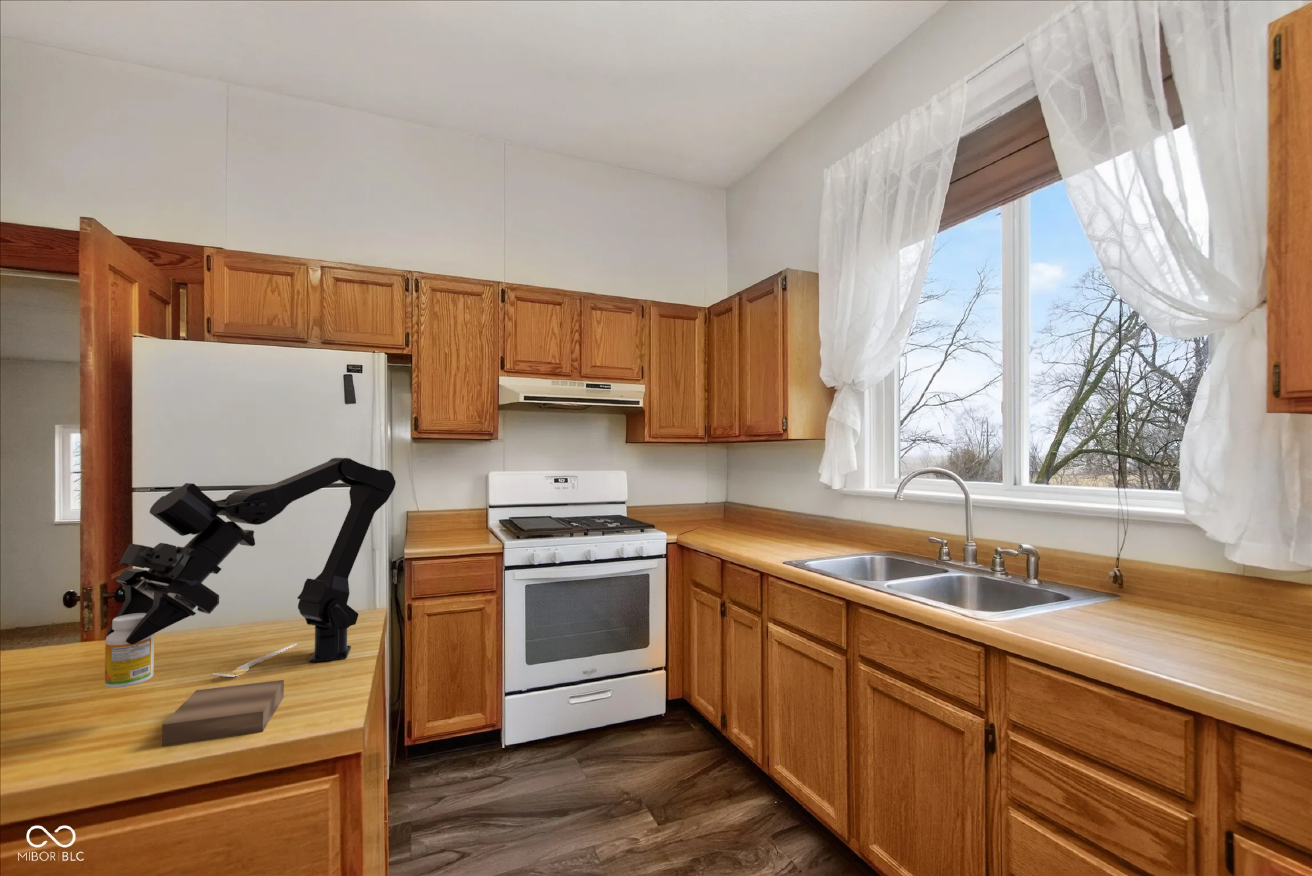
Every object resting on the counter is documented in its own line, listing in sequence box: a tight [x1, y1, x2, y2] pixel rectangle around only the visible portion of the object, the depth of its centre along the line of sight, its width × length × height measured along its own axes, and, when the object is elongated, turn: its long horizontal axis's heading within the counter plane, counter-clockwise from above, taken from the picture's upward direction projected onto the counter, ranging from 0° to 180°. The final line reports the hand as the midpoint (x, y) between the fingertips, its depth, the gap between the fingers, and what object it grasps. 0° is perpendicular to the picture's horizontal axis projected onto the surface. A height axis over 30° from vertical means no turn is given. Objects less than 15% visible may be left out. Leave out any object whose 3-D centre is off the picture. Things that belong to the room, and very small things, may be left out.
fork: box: [211, 643, 298, 678], centre depth 110 cm, size 3×20×2 cm, turn 176°
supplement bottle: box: [104, 613, 155, 689], centre depth 85 cm, size 5×5×10 cm
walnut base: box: [161, 679, 285, 747], centre depth 87 cm, size 12×12×3 cm
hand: (118, 640), depth 84 cm, fingers closed on supplement bottle, 5 cm apart
